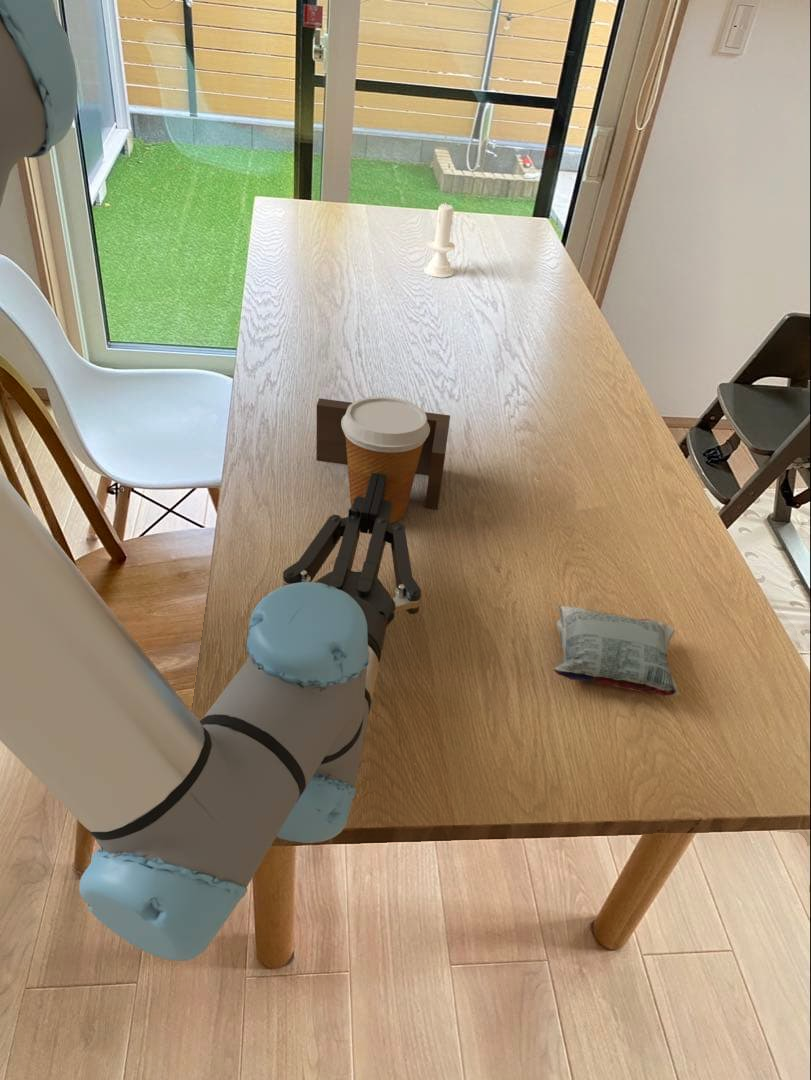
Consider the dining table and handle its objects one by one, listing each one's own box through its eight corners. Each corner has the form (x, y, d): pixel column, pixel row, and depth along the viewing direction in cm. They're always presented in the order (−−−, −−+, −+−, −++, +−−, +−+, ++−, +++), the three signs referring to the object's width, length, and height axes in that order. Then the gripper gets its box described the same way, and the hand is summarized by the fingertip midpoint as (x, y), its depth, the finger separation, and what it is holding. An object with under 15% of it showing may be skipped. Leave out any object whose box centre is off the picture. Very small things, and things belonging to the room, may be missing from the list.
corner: (437, 509, 91) (445, 454, 86) (305, 491, 92) (305, 435, 86) (442, 469, 97) (450, 415, 92) (318, 453, 98) (319, 398, 92)
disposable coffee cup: (319, 503, 90) (323, 408, 83) (380, 478, 95) (388, 387, 88) (375, 542, 84) (384, 445, 78) (436, 513, 90) (449, 420, 83)
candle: (418, 267, 141) (425, 198, 133) (445, 264, 143) (453, 196, 135) (432, 279, 138) (439, 210, 130) (458, 276, 140) (467, 207, 131)
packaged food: (551, 619, 80) (561, 586, 76) (668, 640, 79) (684, 608, 76) (547, 688, 73) (559, 655, 70) (675, 712, 73) (692, 680, 69)
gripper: (261, 671, 69) (317, 502, 86) (409, 693, 68) (436, 519, 85) (256, 613, 64) (317, 446, 81) (417, 637, 63) (443, 464, 80)
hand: (378, 484), depth 83 cm, fingers closed
